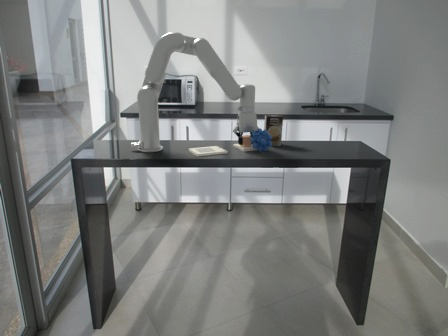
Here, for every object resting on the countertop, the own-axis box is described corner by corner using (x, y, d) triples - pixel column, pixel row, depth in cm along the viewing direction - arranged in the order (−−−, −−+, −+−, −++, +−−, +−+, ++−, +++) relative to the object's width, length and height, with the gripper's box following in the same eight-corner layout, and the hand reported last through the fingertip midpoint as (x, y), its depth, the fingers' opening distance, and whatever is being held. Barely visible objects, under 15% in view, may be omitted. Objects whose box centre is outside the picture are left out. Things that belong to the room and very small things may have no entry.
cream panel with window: (197, 156, 169) (197, 154, 169) (188, 150, 179) (188, 148, 179) (227, 153, 175) (227, 150, 175) (217, 148, 186) (217, 145, 185)
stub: (243, 151, 179) (243, 139, 177) (232, 146, 189) (233, 134, 188) (257, 150, 182) (257, 138, 181) (246, 145, 193) (246, 133, 191)
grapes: (252, 154, 175) (253, 130, 171) (248, 150, 181) (249, 127, 177) (274, 153, 177) (276, 129, 173) (270, 150, 183) (271, 127, 180)
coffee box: (264, 145, 192) (266, 116, 187) (262, 143, 198) (264, 114, 193) (281, 146, 192) (283, 116, 187) (279, 143, 198) (281, 114, 194)
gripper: (235, 111, 173) (234, 147, 179) (265, 109, 181) (263, 144, 186) (228, 109, 180) (227, 144, 185) (257, 107, 187) (256, 141, 192)
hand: (245, 143), depth 185 cm, fingers open, 5 cm apart
